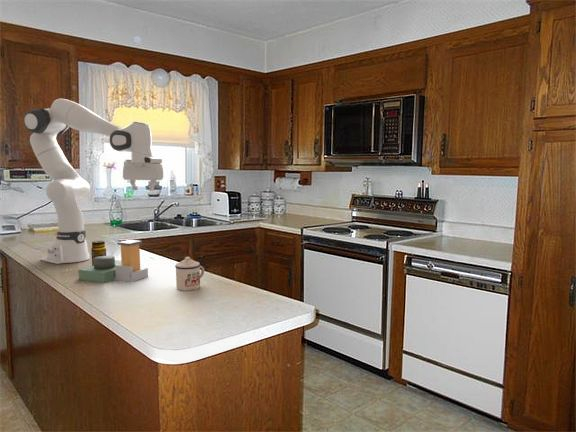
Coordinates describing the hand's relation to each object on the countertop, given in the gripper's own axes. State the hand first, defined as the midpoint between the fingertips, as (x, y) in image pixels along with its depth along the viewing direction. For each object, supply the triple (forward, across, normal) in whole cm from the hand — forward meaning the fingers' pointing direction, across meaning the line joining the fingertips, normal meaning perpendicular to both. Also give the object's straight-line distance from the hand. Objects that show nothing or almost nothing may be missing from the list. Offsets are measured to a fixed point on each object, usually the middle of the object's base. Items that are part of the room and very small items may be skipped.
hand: (143, 190), depth 199 cm
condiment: (+34, -16, -13) cm, 40 cm away
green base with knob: (+34, +3, -20) cm, 40 cm away
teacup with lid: (+34, +40, -21) cm, 57 cm away
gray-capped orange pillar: (+33, +10, -20) cm, 40 cm away
